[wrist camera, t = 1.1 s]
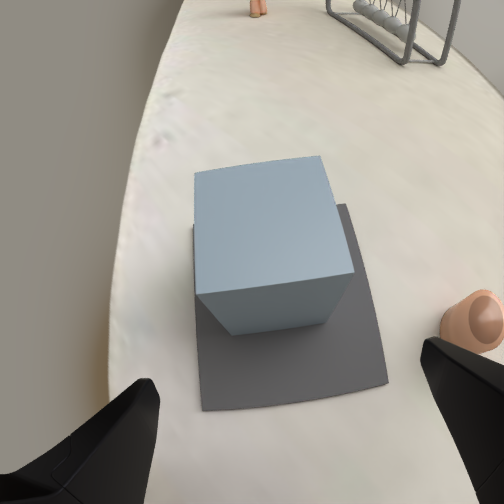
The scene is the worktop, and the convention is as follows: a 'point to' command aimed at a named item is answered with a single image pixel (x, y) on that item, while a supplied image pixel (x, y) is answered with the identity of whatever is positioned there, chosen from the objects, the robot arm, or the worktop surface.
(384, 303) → the worktop surface
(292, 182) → the cover
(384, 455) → the worktop surface
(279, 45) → the worktop surface
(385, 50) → the newton's cradle
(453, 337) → the bowl
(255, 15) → the grandmother figurine
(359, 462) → the worktop surface
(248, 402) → the mat
